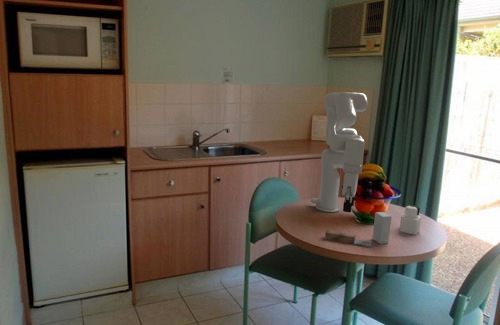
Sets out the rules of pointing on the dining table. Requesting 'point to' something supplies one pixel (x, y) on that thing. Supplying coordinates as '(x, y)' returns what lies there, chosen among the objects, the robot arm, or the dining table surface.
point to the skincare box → (381, 227)
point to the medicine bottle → (410, 220)
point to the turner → (346, 238)
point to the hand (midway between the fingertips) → (348, 208)
